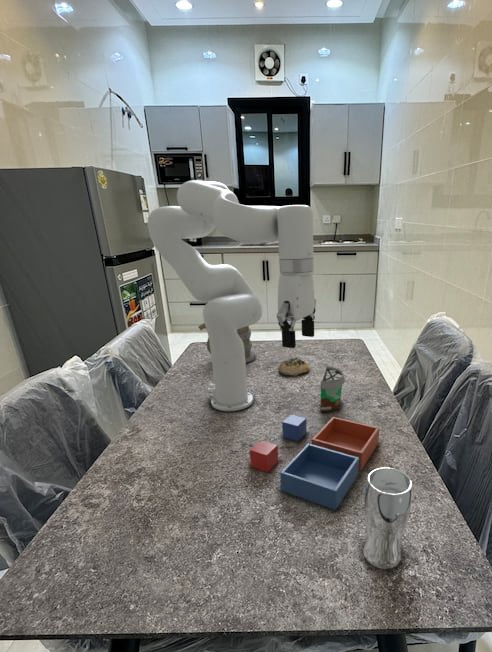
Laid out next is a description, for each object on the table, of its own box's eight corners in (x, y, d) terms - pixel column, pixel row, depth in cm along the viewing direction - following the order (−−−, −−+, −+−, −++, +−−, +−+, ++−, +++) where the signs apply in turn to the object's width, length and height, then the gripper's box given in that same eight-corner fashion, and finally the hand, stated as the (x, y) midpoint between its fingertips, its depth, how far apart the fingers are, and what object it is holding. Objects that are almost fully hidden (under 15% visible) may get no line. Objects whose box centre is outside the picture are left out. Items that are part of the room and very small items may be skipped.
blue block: (282, 437, 97) (282, 421, 95) (291, 429, 101) (290, 414, 99) (298, 441, 95) (297, 426, 93) (306, 433, 99) (306, 418, 97)
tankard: (254, 353, 157) (252, 317, 151) (253, 363, 146) (250, 325, 140) (205, 354, 156) (201, 318, 150) (200, 365, 145) (195, 327, 139)
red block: (250, 466, 86) (249, 449, 84) (261, 456, 90) (260, 440, 88) (267, 472, 84) (266, 455, 82) (278, 461, 88) (277, 445, 86)
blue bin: (280, 490, 78) (280, 472, 77) (307, 459, 88) (307, 443, 86) (335, 510, 73) (336, 491, 71) (358, 475, 83) (359, 457, 81)
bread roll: (290, 362, 146) (291, 350, 144) (314, 371, 141) (315, 359, 138) (271, 372, 138) (272, 359, 136) (296, 383, 133) (297, 370, 130)
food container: (341, 416, 107) (343, 383, 103) (320, 414, 108) (320, 381, 104) (345, 397, 118) (346, 367, 114) (325, 395, 119) (326, 365, 115)
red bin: (311, 455, 90) (311, 439, 88) (332, 431, 99) (333, 416, 98) (361, 470, 84) (362, 453, 82) (378, 443, 94) (379, 427, 92)
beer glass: (356, 539, 66) (361, 467, 60) (395, 536, 67) (404, 465, 61) (366, 573, 60) (373, 497, 54) (410, 570, 61) (421, 494, 54)
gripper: (299, 262, 93) (301, 331, 100) (261, 271, 79) (266, 350, 86) (327, 263, 90) (328, 333, 96) (292, 272, 76) (295, 354, 83)
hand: (298, 341), depth 91 cm, fingers open, 9 cm apart
